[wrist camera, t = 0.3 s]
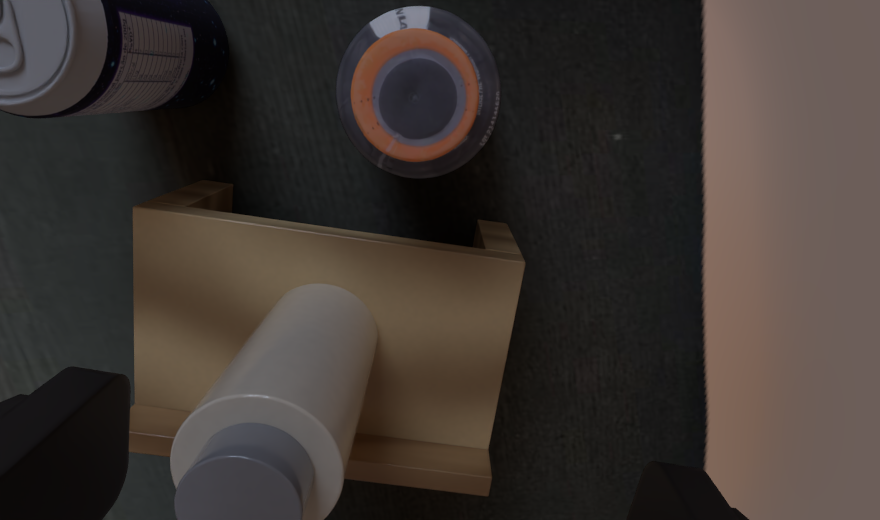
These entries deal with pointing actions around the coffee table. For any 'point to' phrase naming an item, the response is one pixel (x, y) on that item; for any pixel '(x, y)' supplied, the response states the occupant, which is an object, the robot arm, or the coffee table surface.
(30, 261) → the coffee table surface
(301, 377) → the spice bottle
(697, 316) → the coffee table surface
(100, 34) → the beverage can
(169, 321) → the stepped wooden block
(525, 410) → the coffee table surface
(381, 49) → the pill bottle
